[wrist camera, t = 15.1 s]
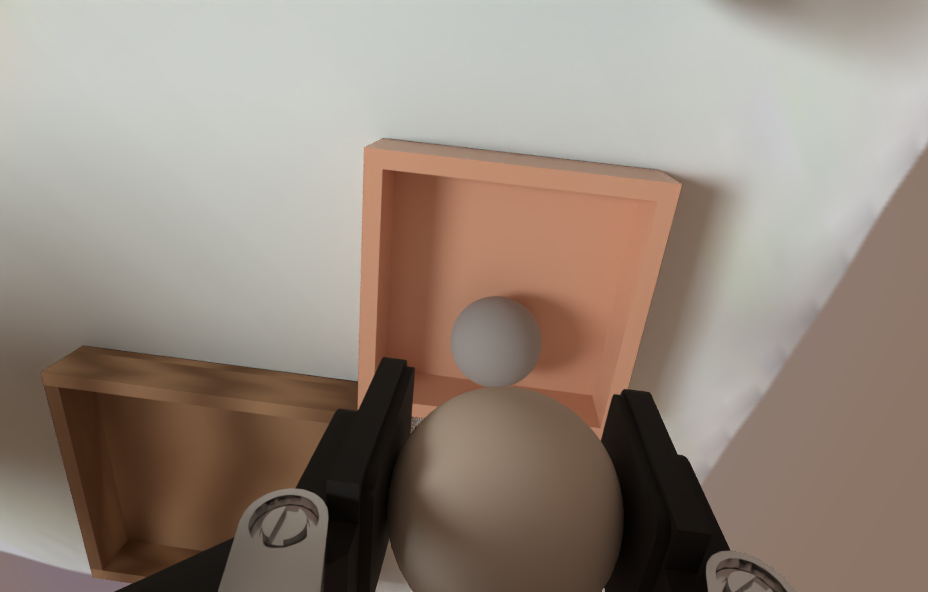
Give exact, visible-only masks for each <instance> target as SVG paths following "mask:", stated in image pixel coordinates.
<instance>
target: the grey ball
mask: <svg viewBox="0 0 928 592" xmlns="http://www.w3.org/2000/svg"><path fill="white" fill-rule="evenodd" d="M450 346H451V352H452V356H453V359H454V361H455V363H456V365H457V366H458V368H459V369H460V371H461V372H462V373H463V374H464V375H465V376H466V377H467V378H469V379H470V380H471V381H473V382H475V383H477V384H479V385H482V386H485V387H500V386H505V387H507V386H511V385H513V384H516V383H518V382H519V381H521V380H522V379H524V378H525V377H526V376H527V375H528V374H529V373H530V372H531V371H532V370H533V368H534V367H535V365H536V364H537V362H538V359H539V356H540V352H541V347H542V338H541V332H540V328H539V326H538V323H537V321H536V319H535V318H534V316H533V315H532V313H531V312H530V311H529V310H528V309H527V308H526V307H525V306H523V305H522V304H520V303H519V302H517V301H515V300H513V299H510V298H507V297H501V296H491V297H485V298H482V299H479V300H477V301H475V302H473V303H471V304H470V305H468V306H467V307H466V308H465V309H464V310H463V311H462V312H461V313H460V314H459V316H458V317H457V319H456V321H455V323H454V325H453V328H452V331H451V339H450Z"/></svg>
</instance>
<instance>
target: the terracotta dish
mask: <svg viewBox="0 0 928 592" xmlns="http://www.w3.org/2000/svg"><path fill="white" fill-rule="evenodd" d="M681 187H682V184H681V183H680V182H678V181H676V180H675V179H673V178H671V177H670V176H668V175H667V174H665V173H663V172H662V171H660V170H656V169H647V168H638V167H630V166H621V165H612V164H604V163H595V162H586V161H577V160H569V159H560V158H551V157H543V156H534V155H525V154H517V153H508V152H499V151H491V150H482V149H473V148H465V147H456V146H447V145H439V144H430V143H421V142H413V141H404V140H395V139H387V138H382V139H380V140H378V141H376V142H374V143H372V144H370V145H368V146H366V147H364V171H363V211H362V251H361V291H360V331H359V371H358V409H359V407H360V405H361V403H362V401H363V398H364V396H365V394H366V392H367V390H368V388H369V385H370V383H371V381H372V379H373V377H374V374H375V372H376V370H377V368H378V366H379V364H380V361H381V359H382V358H383V357H388V358H396V359H403V360H407V366H409V367H415V379H414V392H413V405H412V417H418V418H425V417H426V416H427V415H428V414H429V413H431V412H432V411H433V410H435V409H436V408H437V407H439V406H440V405H442V404H443V403H445V402H447V401H449V400H450V399H452V398H454V397H456V396H458V395H461V394H463V393H466V392H469V391H472V390H476V389H480V388H487V387H485V386H482V385H479V384H477V383H475V382H473V381H471V380H470V379H469V378H467V377H466V376H465V375H464V374H463V373H462V372H461V371H460V369H459V368H458V366H457V365H456V363H455V361H454V359H453V356H452V352H451V346H450V339H451V331H452V328H453V325H454V323H455V321H456V319H457V317H458V316H459V314H460V313H461V312H462V311H463V310H464V309H465V308H466V307H467V306H468V305H470V304H471V303H473V302H475V301H477V300H479V299H482V298H485V297H491V296H501V297H507V298H510V299H513V300H515V301H517V302H519V303H520V304H522V305H523V306H525V307H526V308H527V309H528V310H529V311H530V312H531V313H532V315H533V316H534V318H535V319H536V321H537V323H538V326H539V328H540V332H541V338H542V347H541V352H540V356H539V359H538V362H537V364H536V365H535V367H534V368H533V370H532V371H531V372H530V373H529V374H528V375H527V376H526V377H525V378H524V379H522V380H521V381H519V382H518V383H516V384H513V385H511V386H507V387H518V388H523V389H528V390H532V391H535V392H539V393H542V394H544V395H546V396H548V397H551V398H553V399H554V400H556V401H558V402H560V403H561V404H563V405H565V406H566V407H568V408H569V409H571V410H572V411H573V412H574V413H576V414H577V415H578V416H579V417H580V418H581V419H582V420H583V421H584V422H585V423H586V424H587V425H588V426H589V427H590V428H591V429H592V430H593V431H594V433H595V434H596V435H597V437H598V438H599V439H600V441H601V438H602V434H603V430H604V426H605V422H606V418H607V414H608V410H609V407H610V403H611V399H612V396H613V395H614V394H618V395H620V394H621V392H622V390H623V389H628V386H629V383H630V379H631V375H632V371H633V368H634V364H635V360H636V356H637V353H638V349H639V345H640V341H641V338H642V334H643V330H644V326H645V322H646V319H647V315H648V311H649V307H650V304H651V300H652V296H653V292H654V289H655V285H656V281H657V277H658V274H659V270H660V266H661V262H662V259H663V255H664V251H665V247H666V243H667V240H668V236H669V232H670V228H671V225H672V221H673V217H674V213H675V210H676V206H677V202H678V198H679V195H680V191H681Z"/></svg>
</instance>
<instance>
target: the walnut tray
mask: <svg viewBox="0 0 928 592" xmlns="http://www.w3.org/2000/svg"><path fill="white" fill-rule="evenodd" d="M41 376H42V380H43V384H44V388H45V392H46V396H47V400H48V404H49V408H50V412H51V416H52V419H53V423H54V427H55V431H56V435H57V439H58V443H59V447H60V451H61V455H62V459H63V463H64V467H65V471H66V474H67V478H68V482H69V486H70V490H71V494H72V498H73V502H74V506H75V510H76V514H77V518H78V522H79V525H80V529H81V533H82V537H83V541H84V545H85V549H86V553H87V557H88V561H89V565H90V569H91V573H92V577H93V578H100V579H106V580H113V581H120V582H127V583H135V582H137V581H139V580H141V579H144V578H146V577H148V576H150V575H152V574H155V573H157V572H159V571H161V570H163V569H165V568H168V567H170V566H172V565H174V564H176V563H179V562H181V561H183V560H185V559H187V558H190V557H192V556H194V555H196V554H198V553H201V552H203V551H205V550H207V549H209V548H211V547H214V546H216V545H218V544H220V543H222V542H225V541H227V540H229V539H231V538H233V537H235V534H236V531H237V527H238V524H239V521H240V519H241V517H242V515H243V513H244V511H245V510H246V509H247V508H248V507H249V506H250V505H251V504H252V503H253V502H254V501H256V500H257V499H259V498H261V497H262V496H264V495H266V494H268V493H271V492H274V491H277V490H282V489H290V488H293V489H295V488H296V486H297V484H298V482H299V480H300V478H301V476H302V474H303V473H304V471H305V469H306V467H307V465H308V463H309V461H310V459H311V457H312V455H313V453H314V452H315V450H316V448H317V446H318V444H319V442H320V440H321V438H322V436H323V434H324V432H325V431H326V429H327V427H328V425H329V423H330V421H331V419H332V417H333V415H334V413H335V412H336V410H337V409H339V408H341V409H348V410H355V411H358V382H355V381H348V380H340V379H332V378H325V377H317V376H310V375H302V374H294V373H287V372H279V371H271V370H264V369H256V368H248V367H241V366H233V365H226V364H218V363H210V362H203V361H195V360H187V359H180V358H172V357H165V356H157V355H149V354H142V353H134V352H126V351H119V350H111V349H104V348H96V347H88V346H82V347H80V348H78V349H77V350H75V351H74V352H72V353H70V354H69V355H67V356H66V357H64V358H63V359H61V360H59V361H58V362H56V363H55V364H53V365H51V366H50V367H48V368H47V369H45V370H44V371H42V372H41Z"/></svg>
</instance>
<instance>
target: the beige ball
mask: <svg viewBox="0 0 928 592" xmlns="http://www.w3.org/2000/svg"><path fill="white" fill-rule="evenodd" d="M387 525H388V531H389V537H390V542H391V547H392V550H393V552H394V555H395V558H396V561H397V563H398V566H399V569H400V570H401V572H402V574H403V576H404V577H405V579H406V581H407V583H408V584H409V586H410V588H411V589H412V591H413V592H602V590H603V588H604V587H605V585H606V583H607V582H608V580H609V579H610V577H611V574H612V572H613V570H614V567H615V564H616V562H617V559H618V556H619V552H620V548H621V543H622V537H623V530H624V506H623V499H622V493H621V487H620V483H619V479H618V476H617V473H616V470H615V468H614V465H613V463H612V460H611V458H610V456H609V454H608V453H607V451H606V449H605V447H604V446H603V444H602V442H601V441H600V439H599V438H598V437H597V435H596V434H595V433H594V431H593V430H592V429H591V428H590V427H589V426H588V425H587V424H586V423H585V422H584V421H583V420H582V419H581V418H580V417H579V416H578V415H577V414H576V413H574V412H573V411H572V410H571V409H569V408H568V407H566V406H565V405H563V404H561V403H560V402H558V401H556V400H554V399H553V398H551V397H548V396H546V395H544V394H542V393H539V392H535V391H532V390H528V389H523V388H518V387H505V386H500V387H487V388H480V389H476V390H472V391H469V392H466V393H463V394H461V395H458V396H456V397H454V398H452V399H450V400H449V401H447V402H445V403H443V404H442V405H440V406H439V407H437V408H436V409H435V410H433V411H432V412H431V413H429V414H428V415H427V416H426V417H425V418H424V419H423V420H422V421H421V423H420V424H419V425H418V426H417V427H416V428H415V429H414V431H413V432H412V433H411V435H410V436H409V437H408V439H407V441H406V442H405V444H404V446H403V448H402V449H401V451H400V453H399V455H398V458H397V460H396V463H395V466H394V469H393V472H392V476H391V481H390V485H389V491H388V500H387Z"/></svg>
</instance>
